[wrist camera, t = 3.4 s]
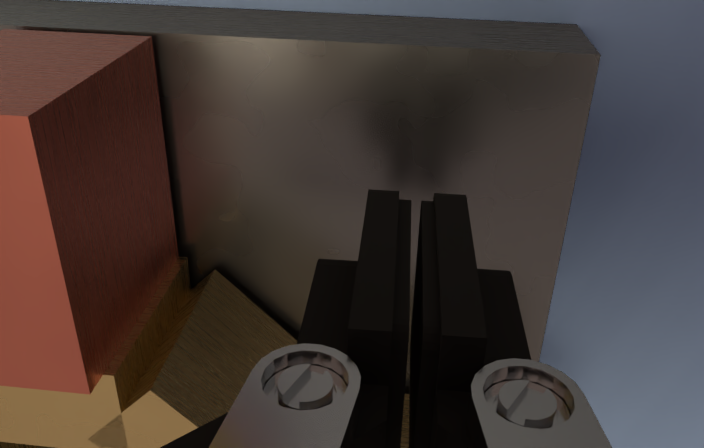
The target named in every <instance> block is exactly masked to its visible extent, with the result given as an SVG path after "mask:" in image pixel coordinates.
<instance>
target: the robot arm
mask: <svg viewBox="0 0 704 448" xmlns="http://www.w3.org/2000/svg"><path fill="white" fill-rule="evenodd" d="M410 260H411V200H403V199H399V191H390V190H372V189H369V190H368V196H367V202H366V209H365V216H364V223H363V229H362V236H361V243H360V250H359V256H358V261H350V260H334V259H318V261H317V264H316V268H315V272H314V277H313V281H312V285H311V289H310V293H309V297H308V301H307V305H306V309H305V313H304V317H303V321H302V325H301V329H300V333H299V337H298V341H297V344H296V345H288V346H285V347H282V348H280V349H277V350H274V351H272V352H271V353H269V354H267V355H266V356H264V357H263V358H261V359H260V361H259V362H258V363H257V364H256V365H255V367H254V368H253V369H252V371H251V373H250V374H249V376H248V378H247V380H246V382H245V383H244V385H243V387H242V389H241V390H240V392H239V394H238V396H237V398H236V399H235V401H234V403H233V405H232V407H231V408H230V410H229V412H227V413H225V414H224V415H222V416H220V417H218V418H216V419H214V420H212V421H210V422H208V423H206V424H204V425H202V426H200V427H199V428H197V429H195V430H193V431H191V432H189V433H187V434H185V435H183V436H181V437H179V438H177V439H175V440H173V441H172V442H170V443H168V444H166V445H164V446H162V447H160V448H400V447H401V434H402V421H403V409H404V396H405V383H406V370H407V358H408V343H409V321H410ZM409 448H612V446H611V444H610V442H609V440H608V439H607V437H606V435H605V433H604V431H603V429H602V427H601V425H600V423H599V421H598V420H597V418H596V416H595V414H594V412H593V410H592V408H591V406H590V404H589V402H588V401H587V399H586V397H585V395H584V393H583V392H582V391H581V389H580V388H579V387H578V385H577V384H576V383H575V382H574V381H573V380H572V379H571V378H569V377H568V376H567V375H566V374H564V373H563V372H562V371H559V370H557V369H555V368H553V367H551V366H549V365H547V364H544V363H540V362H537V361H533V360H531V356H530V352H529V347H528V343H527V339H526V334H525V330H524V326H523V321H522V317H521V312H520V308H519V304H518V299H517V295H516V291H515V286H514V282H513V278H512V274H511V272H510V271H507V270H491V269H477V264H476V257H475V250H474V244H473V237H472V230H471V223H470V217H469V210H468V203H467V197H466V195H460V194H443V193H434V197H433V201H421V209H420V221H419V234H418V246H417V259H416V271H415V284H414V296H413V309H412V322H411V336H410V386H409Z"/></svg>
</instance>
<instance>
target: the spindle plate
mask: <svg viewBox="0 0 704 448" xmlns="http://www.w3.org/2000/svg"><path fill="white" fill-rule="evenodd" d="M3 29H15V30H35V31H55V32H75V33H94V34H114V35H134V36H152V43H153V51H154V60H155V68H156V76H157V84H158V92H159V100H160V108H161V117H162V125H163V133H164V141H165V149H166V157H167V165H168V174H169V182H170V190H171V198H172V206H173V214H174V222H175V231H176V239H177V247H178V255H179V257H187V260H188V269H189V277H190V286H191V289H192V288H193V287H195V286H196V285H197V284H198V283H199V282H201V281H202V280H203V279H204V278H205V277H206V276H208V275H209V274H210V273H211V272H212V271H213V270H215V269H216V270H217V271H218V272H219V273H220V274H221V275H223V276H224V277H225V278H226V279H227V280H228V281H229V282H231V283H232V284H233V285H234V286H235V287H236V288H237V289H239V290H240V291H241V292H242V293H243V294H244V295H245V296H247V297H248V298H249V299H250V300H251V301H252V302H253V303H255V304H256V305H257V306H258V307H259V308H260V309H261V310H263V311H264V312H265V313H266V314H267V315H268V316H269V317H271V318H272V319H273V320H274V321H275V322H276V323H277V324H279V325H280V326H281V327H282V328H283V329H284V330H286V331H287V332H288V333H289V334H290V335H291V336H292V337H294V338H295V339H296V340H297V341H298V337H299V333H300V329H301V325H302V321H303V317H304V313H305V309H306V305H307V301H308V297H309V293H310V289H311V285H312V281H313V277H314V272H315V268H316V264H317V261H318V259H334V260H350V261H358V256H359V250H360V243H361V236H362V229H363V223H364V216H365V209H366V202H367V196H368V190H369V189H372V190H390V191H399V199H403V200H411V260H410V321H409V343H408V358H407V370H406V383H405V394H409V386H410V336H411V322H412V309H413V296H414V284H415V271H416V259H417V246H418V234H419V221H420V209H421V201H433V197H434V193H443V194H460V195H466V197H467V203H468V210H469V217H470V223H471V230H472V237H473V244H474V250H475V257H476V264H477V269H491V270H507V271H510V272H511V274H512V278H513V282H514V286H515V291H516V295H517V299H518V304H519V308H520V312H521V317H522V321H523V326H524V330H525V334H526V339H527V343H528V347H529V352H530V356H531V360H533V361H537V362H539V358H540V353H541V348H542V343H543V338H544V333H545V328H546V323H547V318H548V313H549V308H550V303H551V298H552V293H553V288H554V283H555V278H556V274H557V269H558V264H559V259H560V254H561V249H562V244H563V239H564V234H565V229H566V224H567V219H568V214H569V209H570V204H571V199H572V194H573V189H574V184H575V179H576V174H577V169H578V165H579V160H580V155H581V150H582V145H583V140H584V135H585V130H586V125H587V120H588V115H589V110H590V105H591V100H592V95H593V90H594V85H595V80H596V75H597V70H598V65H599V60H600V56H601V55H600V53H599V52H598V51H597V50H596V48H595V47H594V46H593V44H592V43H591V42H590V41H589V39H588V38H587V37H586V36H585V34H584V33H583V32H582V30H581V29H580V28H579V27H578V25H577V24H555V23H534V22H512V21H490V20H468V19H447V18H425V17H403V16H382V15H360V14H338V13H316V12H295V11H273V10H251V9H230V8H208V7H186V6H164V5H143V4H121V3H99V2H78V1H56V0H0V30H3Z"/></svg>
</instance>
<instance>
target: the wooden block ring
mask: <svg viewBox="0 0 704 448" xmlns="http://www.w3.org/2000/svg"><path fill="white" fill-rule="evenodd" d="M296 344H297V340H296V339H295V338H294V337H292V336H291V335H290V334H289V333H288V332H287V331H286V330H284V329H283V328H282V327H281V326H280V325H279V324H277V323H276V322H275V321H274V320H273V319H272V318H271V317H269V316H268V315H267V314H266V313H265V312H264V311H263V310H261V309H260V308H259V307H258V306H257V305H256V304H255V303H253V302H252V301H251V300H250V299H249V298H248V297H247V296H245V295H244V294H243V293H242V292H241V291H240V290H239V289H237V288H236V287H235V286H234V285H233V284H232V283H231V282H229V281H228V280H227V279H226V278H225V277H224V276H223V275H221V274H220V273H219V272H218V271H217V270H216V269H215V270H213V271H212V272H211V273H210V274H209V275H208V276H206V277H205V278H204V279H203V280H202V281H201V282H199V283H198V284H197V285H196V286H195V287H193V288H192V289H191V286H190V277H189V269H188V260H187V257H179V255H178V247H177V239H176V231H175V222H174V214H173V206H172V198H171V190H170V182H169V174H168V165H167V157H166V149H165V141H164V133H163V125H162V117H161V108H160V100H159V92H158V84H157V76H156V68H155V60H154V51H153V43H152V36H134V35H114V34H94V33H75V32H55V31H35V30H15V29H3V30H0V448H160V447H162V446H164V445H166V444H168V443H170V442H172V441H173V440H175V439H177V438H179V437H181V436H183V435H185V434H187V433H189V432H191V431H193V430H195V429H197V428H199V427H200V426H202V425H204V424H206V423H208V422H210V421H212V420H214V419H216V418H218V417H220V416H222V415H224V414H225V413H227V412H229V410H230V408H231V407H232V405H233V403H234V401H235V399H236V398H237V396H238V394H239V392H240V390H241V389H242V387H243V385H244V383H245V382H246V380H247V378H248V376H249V374H250V373H251V371H252V369H253V368H254V367H255V365H256V364H257V363H258V362H259V361H260V359H261V358H263V357H264V356H266V355H267V354H269V353H271V352H272V351H274V350H277V349H280V348H282V347H285V346H288V345H296ZM400 448H409V394H405V396H404V409H403V421H402V434H401V447H400Z"/></svg>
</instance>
